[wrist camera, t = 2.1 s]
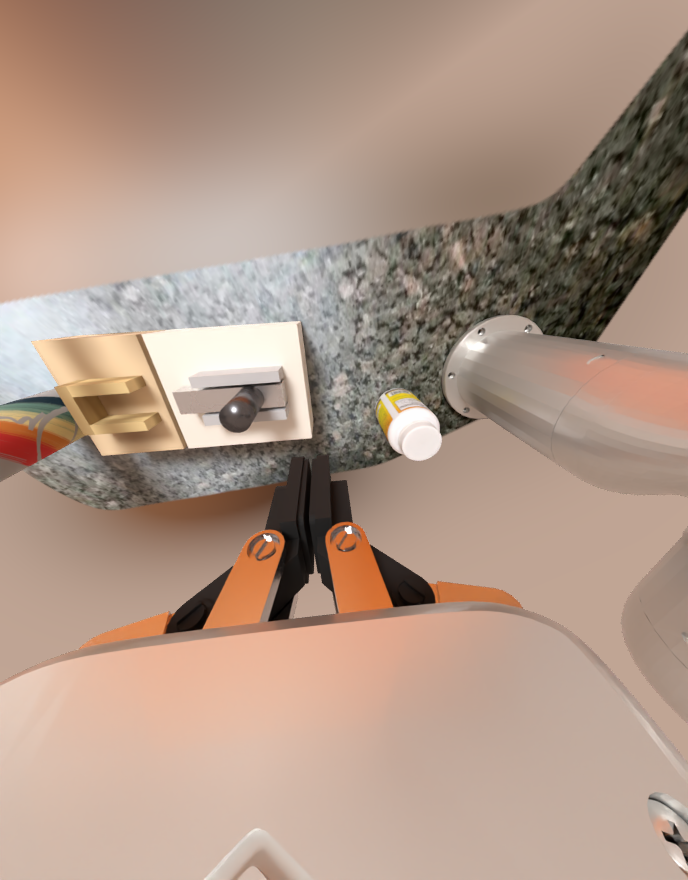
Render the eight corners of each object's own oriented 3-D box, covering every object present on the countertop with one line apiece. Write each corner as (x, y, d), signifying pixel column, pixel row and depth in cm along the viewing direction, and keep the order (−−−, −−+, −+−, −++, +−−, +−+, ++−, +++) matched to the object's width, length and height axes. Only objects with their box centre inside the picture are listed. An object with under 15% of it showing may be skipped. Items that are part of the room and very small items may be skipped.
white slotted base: (301, 321, 27) (294, 325, 21) (313, 420, 33) (311, 448, 27) (171, 329, 27) (122, 337, 20) (206, 429, 32) (177, 460, 26)
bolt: (283, 377, 25) (270, 401, 19) (287, 400, 26) (276, 429, 20) (182, 385, 25) (135, 411, 18) (190, 408, 26) (149, 440, 20)
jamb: (166, 329, 27) (116, 337, 20) (202, 429, 32) (172, 460, 26) (79, 335, 26) (0, 345, 20) (132, 435, 32) (83, 468, 26)
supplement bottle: (390, 433, 35) (414, 477, 26) (365, 406, 33) (382, 444, 24) (423, 407, 33) (460, 445, 24) (399, 377, 31) (431, 406, 22)
